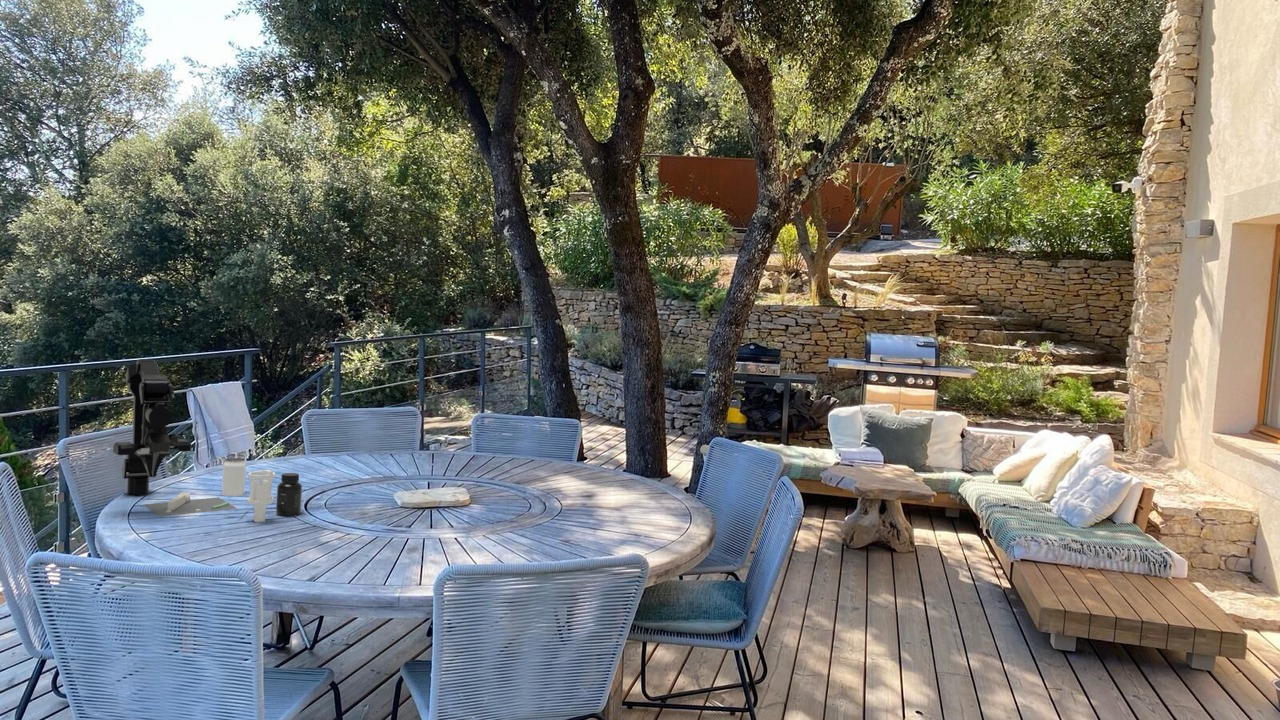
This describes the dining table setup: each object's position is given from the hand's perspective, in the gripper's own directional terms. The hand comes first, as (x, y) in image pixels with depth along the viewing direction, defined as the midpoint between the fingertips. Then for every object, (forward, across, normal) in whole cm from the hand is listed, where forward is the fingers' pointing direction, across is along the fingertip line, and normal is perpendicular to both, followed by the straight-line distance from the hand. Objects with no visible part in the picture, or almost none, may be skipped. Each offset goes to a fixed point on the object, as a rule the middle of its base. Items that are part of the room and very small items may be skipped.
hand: (151, 476), depth 243 cm
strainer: (+11, +23, -20) cm, 32 cm away
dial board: (+11, +11, +1) cm, 16 cm away
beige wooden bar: (+10, +8, +3) cm, 13 cm away
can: (+11, +27, +12) cm, 32 cm away
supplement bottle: (+11, +33, -16) cm, 38 cm away
